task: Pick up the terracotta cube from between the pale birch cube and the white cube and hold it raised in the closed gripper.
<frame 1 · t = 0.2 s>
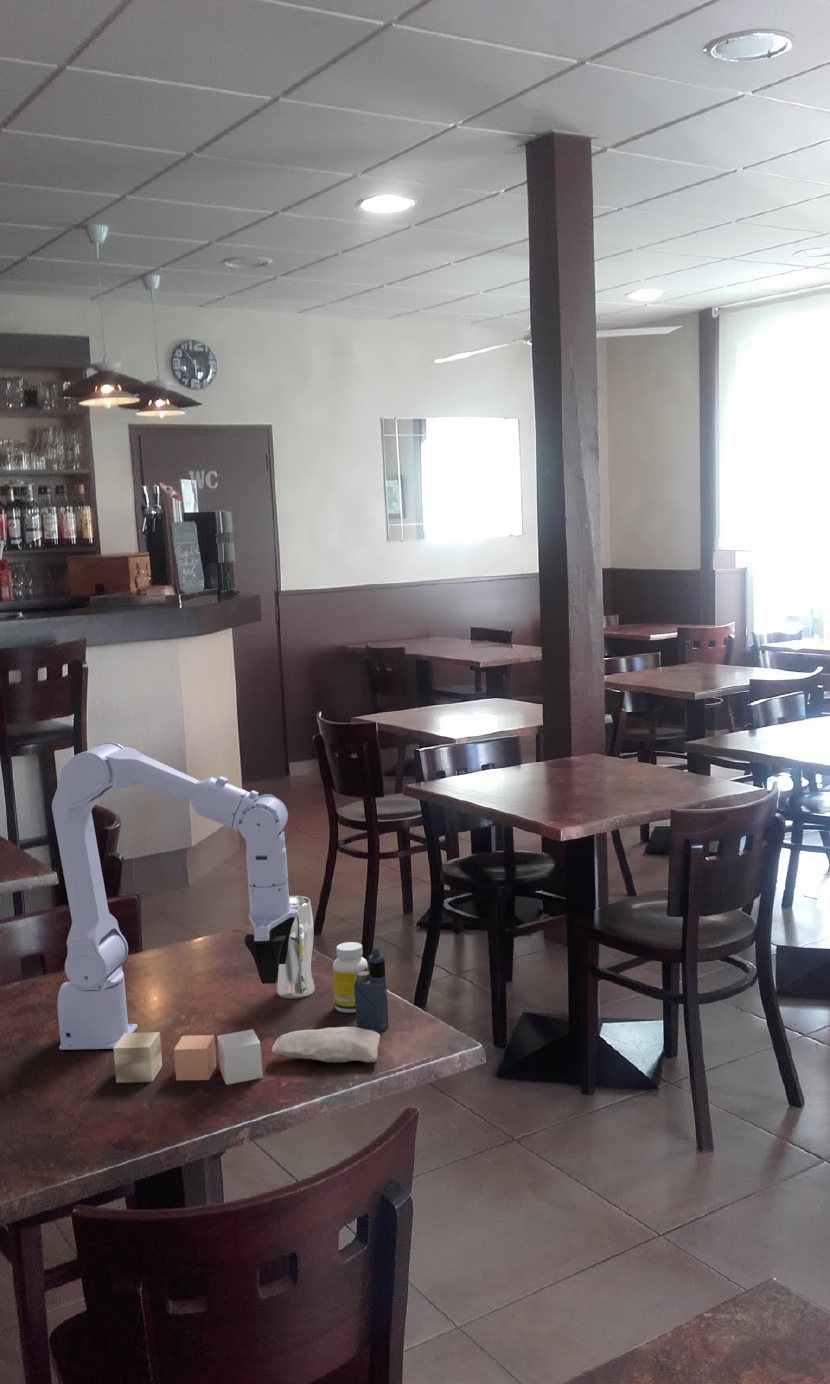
hand: (274, 973, 171), 10 cm above the table, fingers open, 7 cm apart
birch cube: (139, 1074, 164), on the table
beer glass: (296, 993, 191), on the table
terracotta cube: (196, 1073, 163), on the table
white cube: (241, 1074, 162), on the table
vaping device: (373, 1028, 175), on the table
supplement bottle: (352, 1008, 183), on the table
decorative stone: (327, 1060, 166), on the table
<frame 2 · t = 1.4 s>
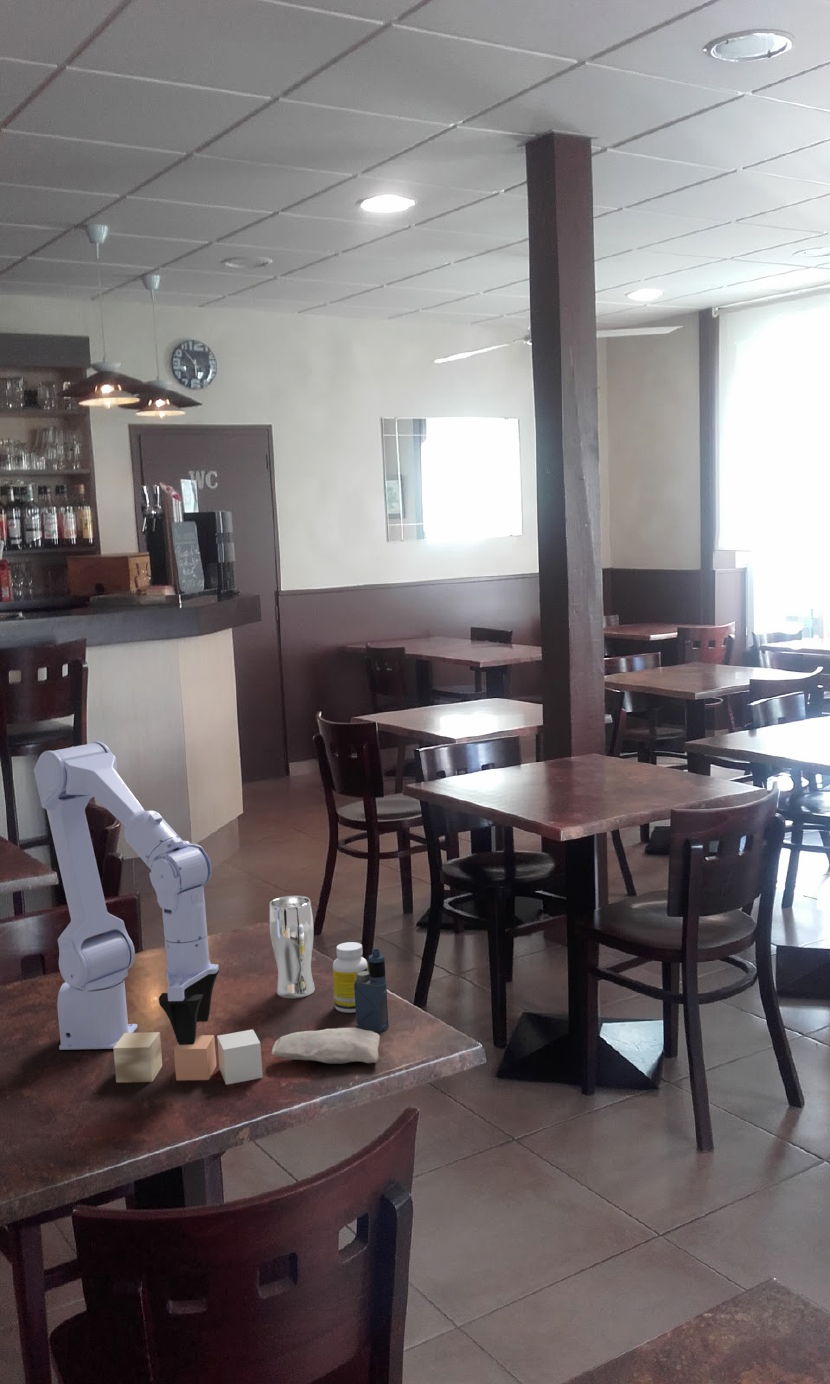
hand: (193, 1032, 162), 6 cm above the table, fingers open, 7 cm apart
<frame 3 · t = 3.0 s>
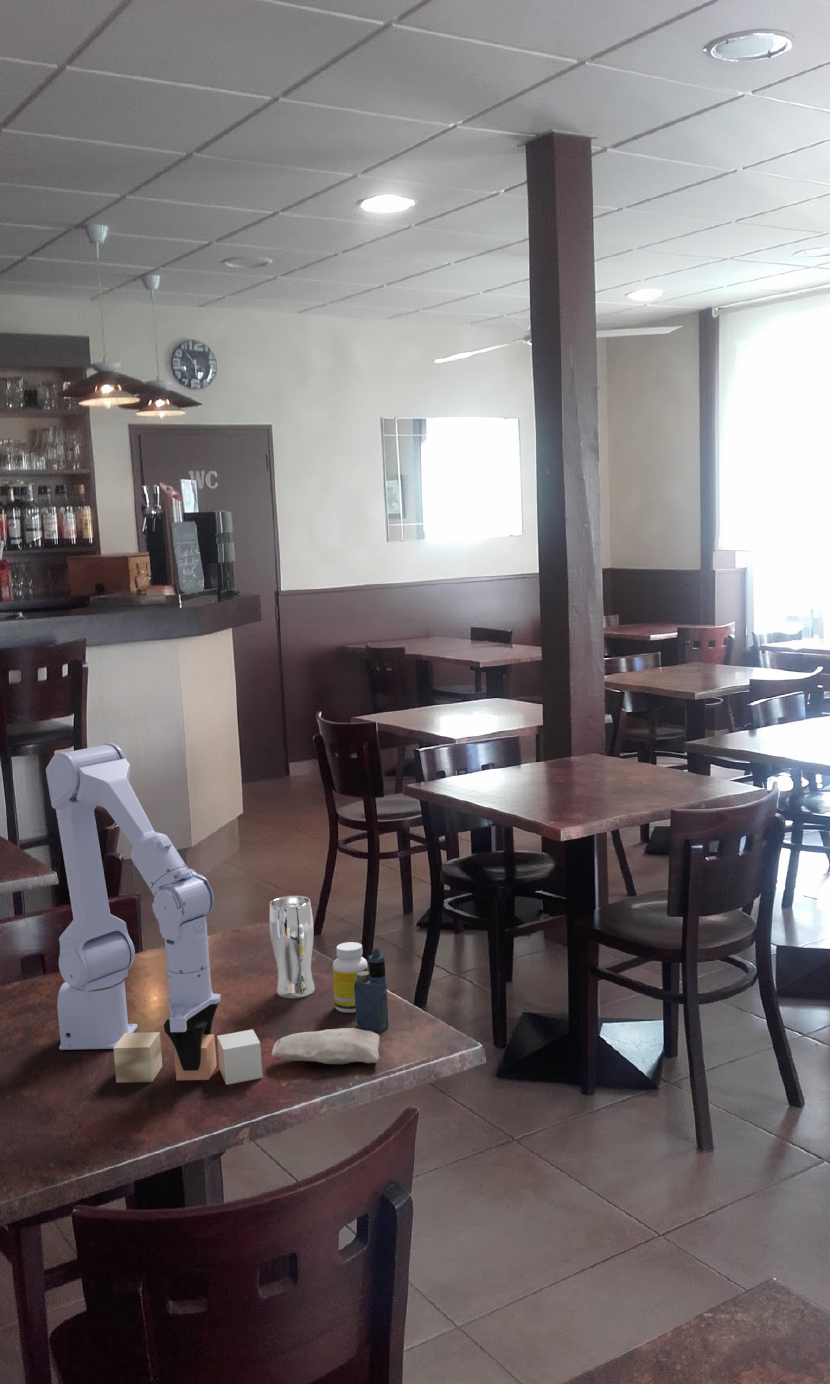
hand: (195, 1061, 163), 2 cm above the table, fingers closed on terracotta cube, 4 cm apart
terracotta cube: (196, 1072, 163), on the table, touching gripper
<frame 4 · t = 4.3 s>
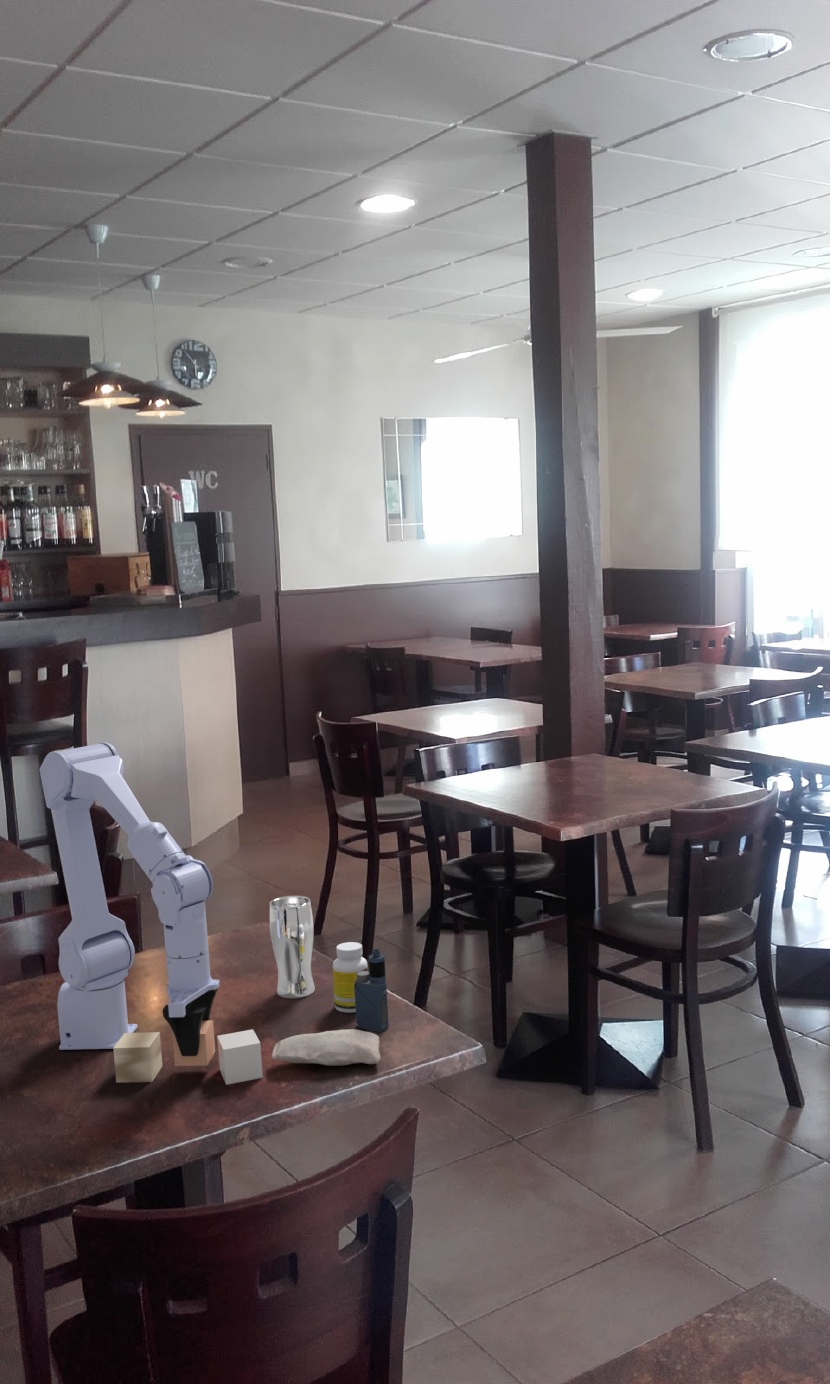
hand: (194, 1047, 163), 4 cm above the table, fingers closed on terracotta cube, 4 cm apart
terracotta cube: (195, 1058, 163), point 2 cm above the table, touching gripper
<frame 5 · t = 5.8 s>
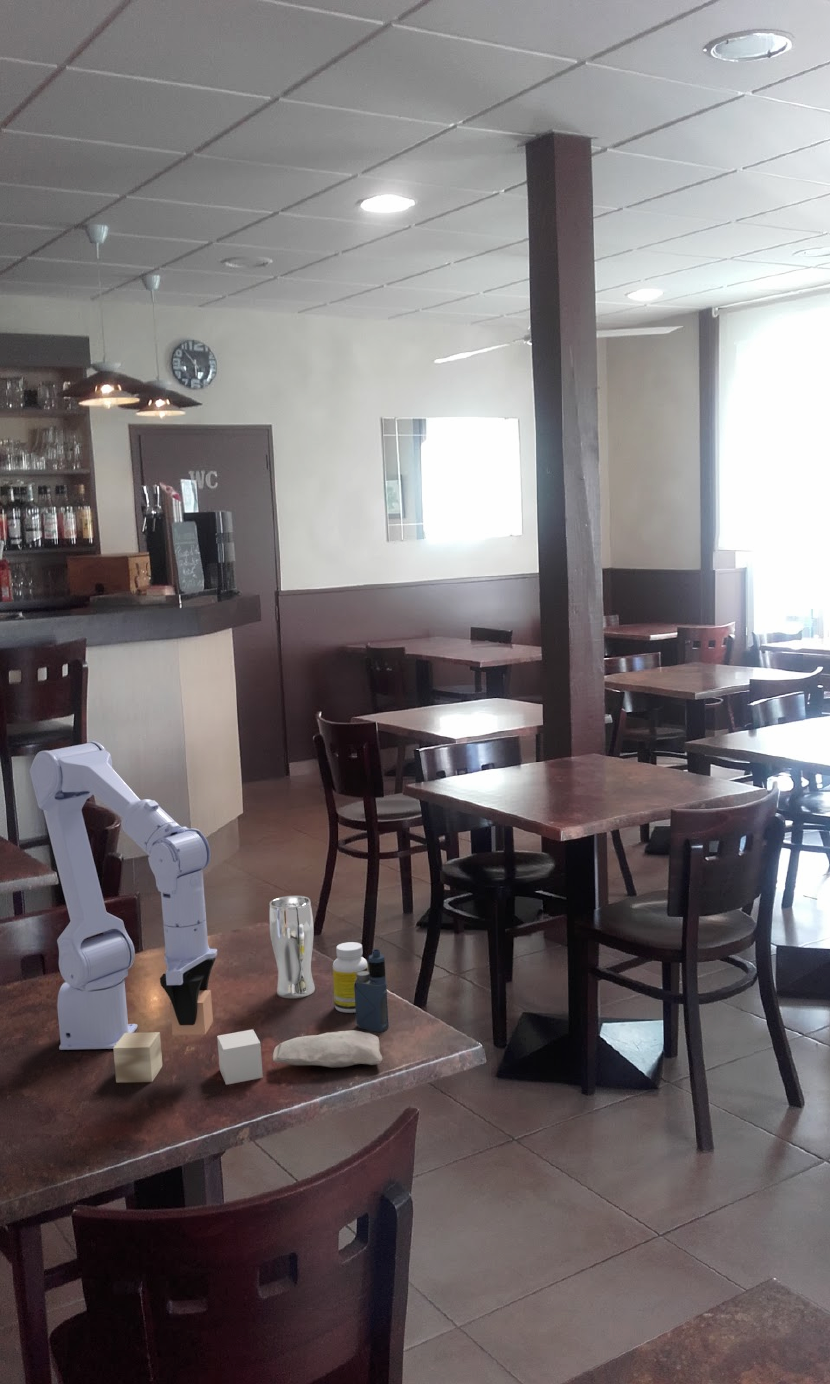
hand: (192, 1016, 162), 8 cm above the table, fingers closed on terracotta cube, 4 cm apart
terracotta cube: (193, 1028, 162), point 6 cm above the table, touching gripper
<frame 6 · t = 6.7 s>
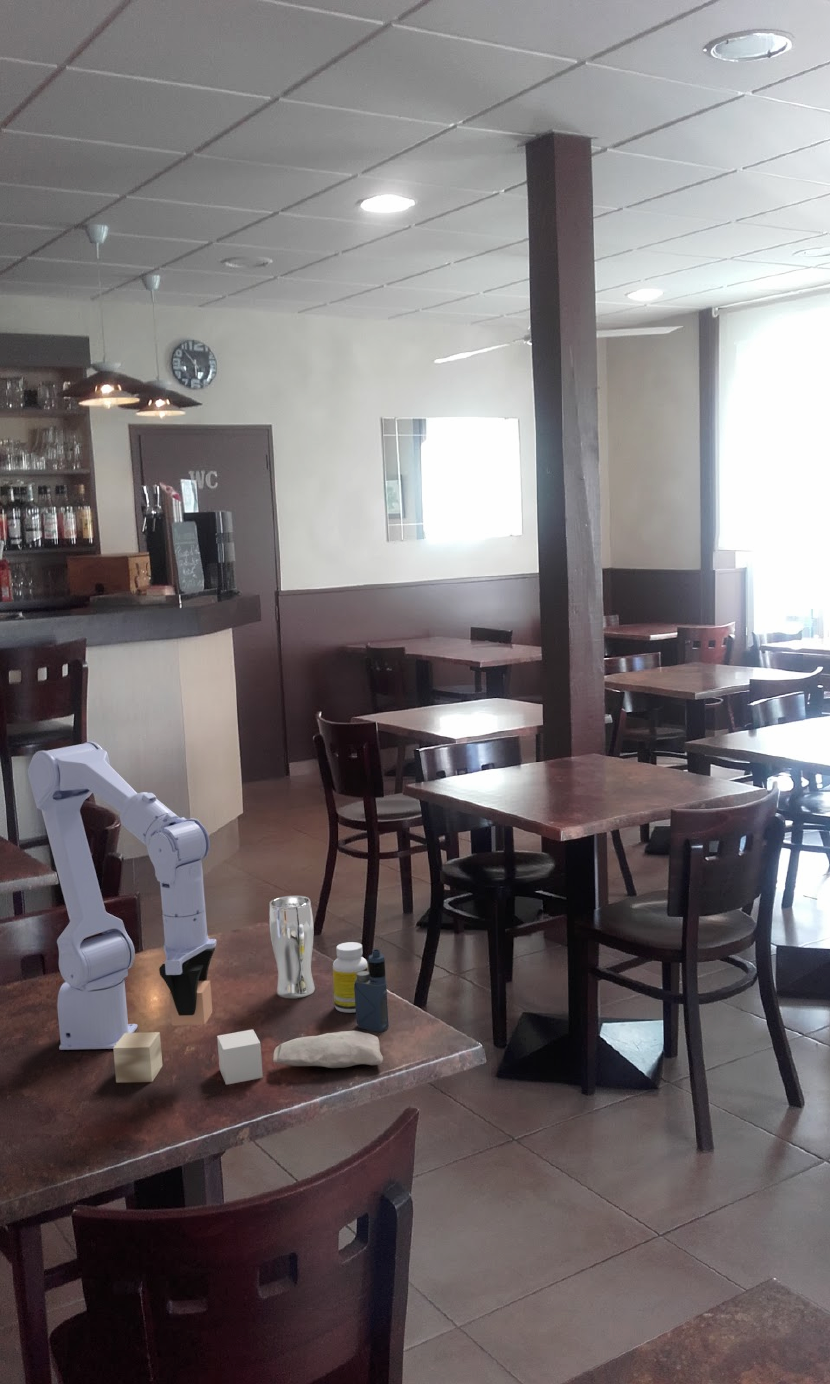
hand: (191, 1007, 162), 9 cm above the table, fingers closed on terracotta cube, 4 cm apart
terracotta cube: (192, 1018, 162), point 8 cm above the table, touching gripper
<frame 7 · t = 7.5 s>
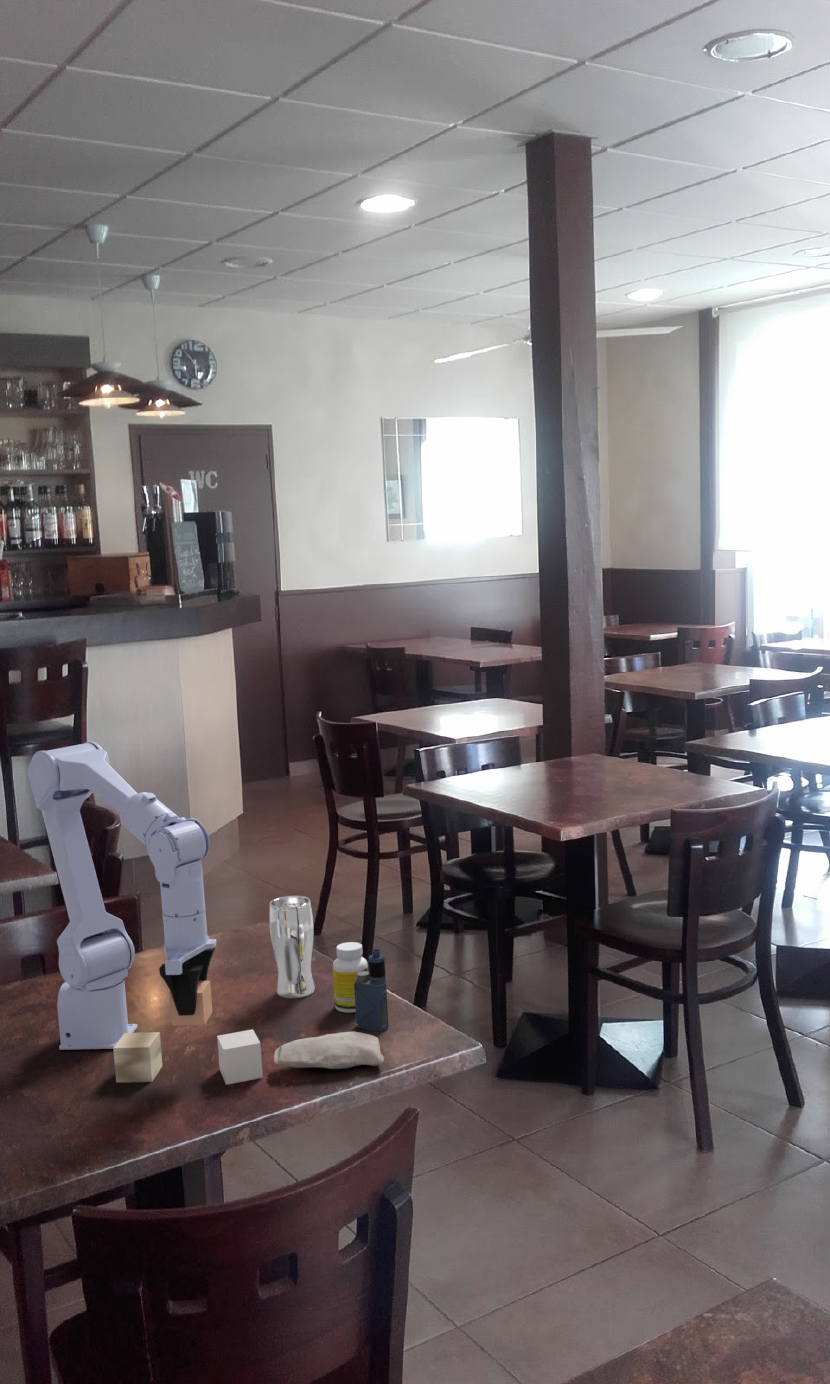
hand: (191, 1007, 162), 9 cm above the table, fingers closed on terracotta cube, 4 cm apart
terracotta cube: (192, 1018, 162), point 8 cm above the table, touching gripper
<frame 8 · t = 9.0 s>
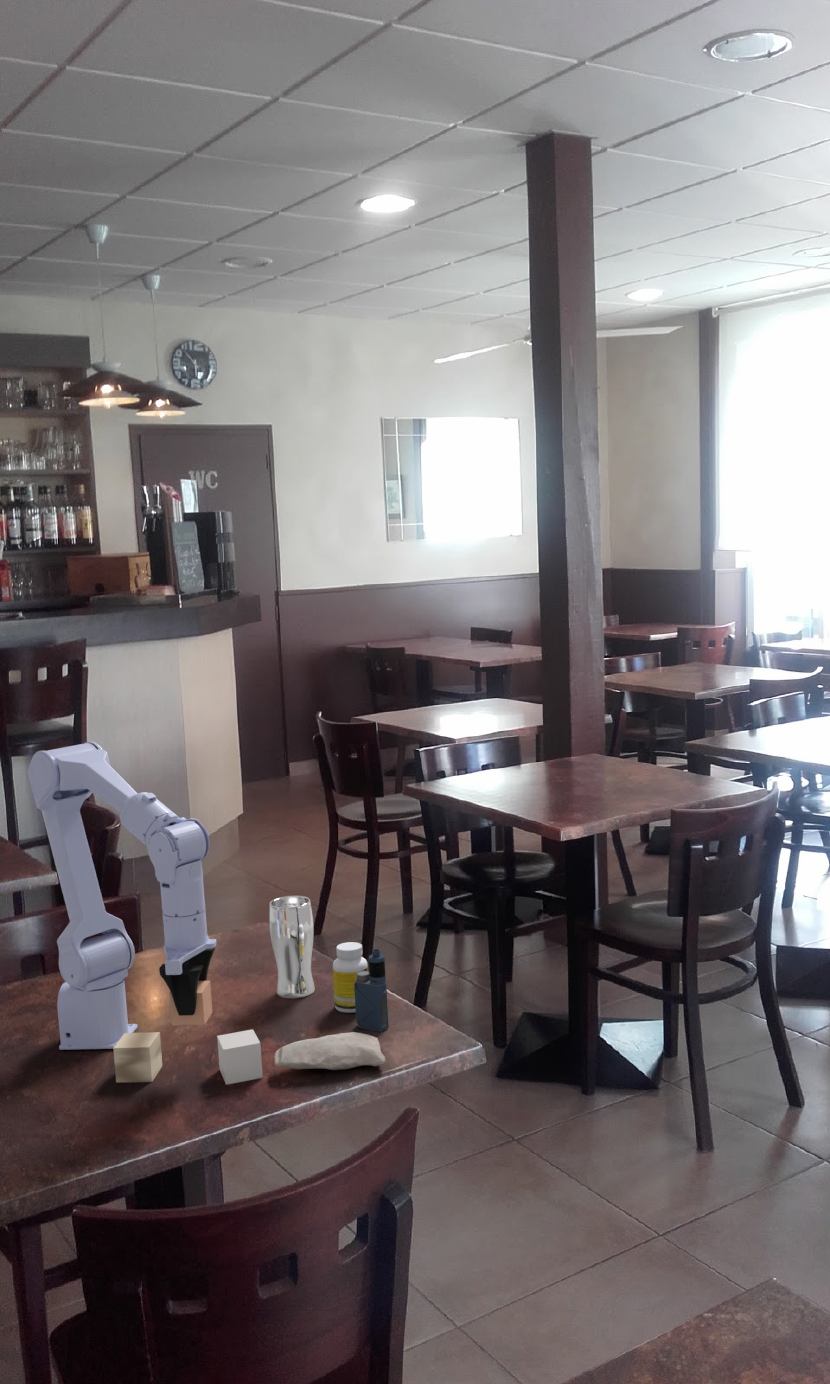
hand: (191, 1007, 162), 9 cm above the table, fingers closed on terracotta cube, 4 cm apart
terracotta cube: (192, 1018, 162), point 8 cm above the table, touching gripper
at the end: the gripper is holding terracotta cube; terracotta cube point 7.7 cm above the table; birch cube moved 0.1 cm from its start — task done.
